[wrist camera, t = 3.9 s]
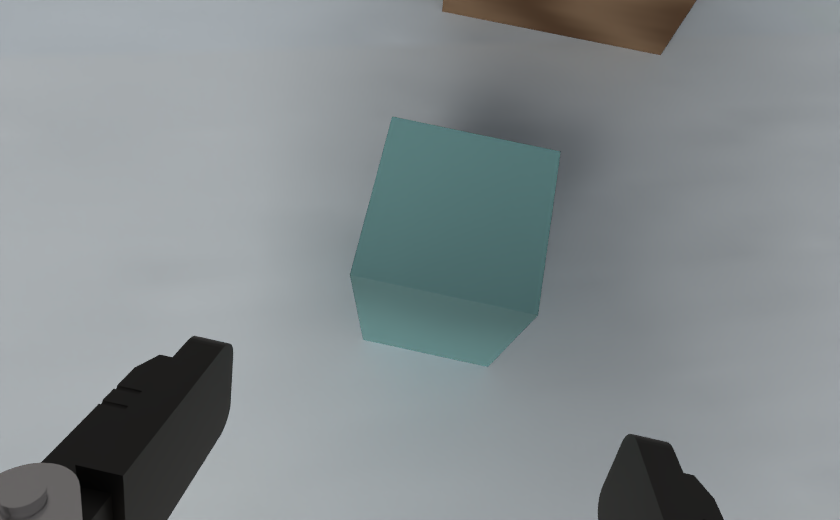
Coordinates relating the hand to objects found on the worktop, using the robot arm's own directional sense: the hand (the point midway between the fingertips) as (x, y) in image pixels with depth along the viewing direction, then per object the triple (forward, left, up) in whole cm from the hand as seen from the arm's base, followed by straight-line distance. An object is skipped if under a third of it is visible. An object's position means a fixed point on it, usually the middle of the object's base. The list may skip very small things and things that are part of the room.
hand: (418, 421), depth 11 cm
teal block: (0, +6, -10) cm, 12 cm away
